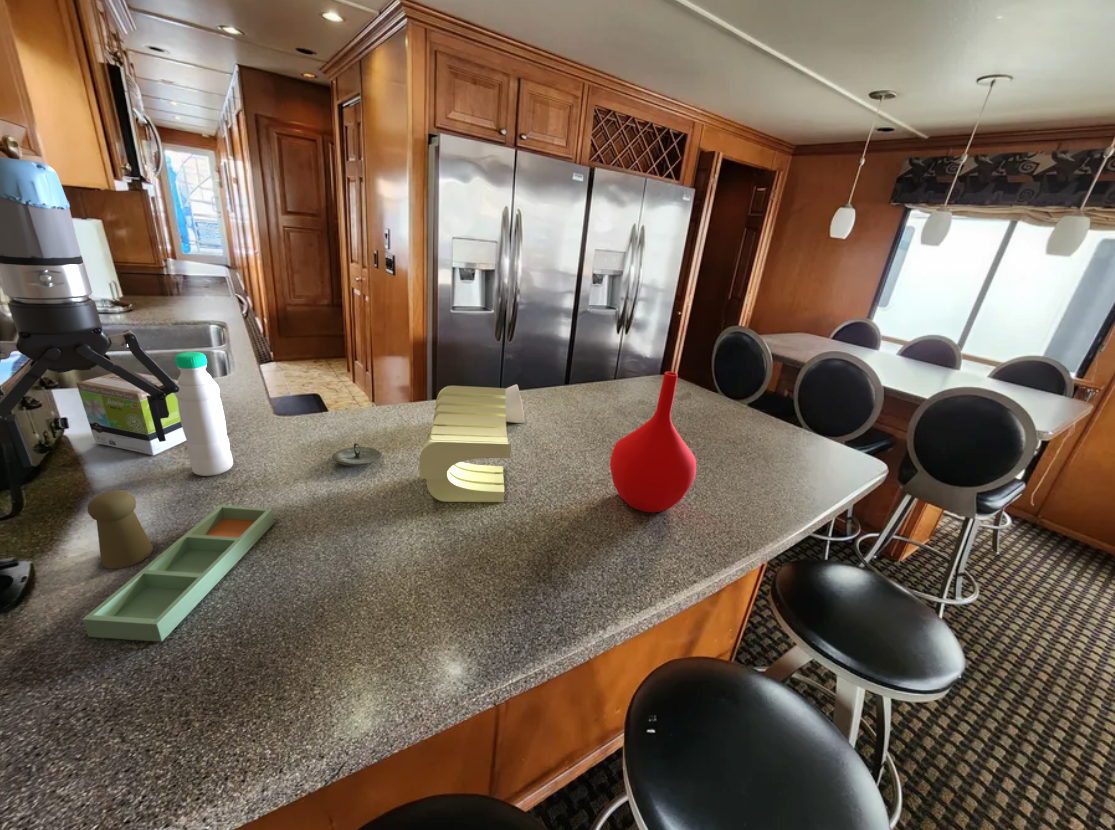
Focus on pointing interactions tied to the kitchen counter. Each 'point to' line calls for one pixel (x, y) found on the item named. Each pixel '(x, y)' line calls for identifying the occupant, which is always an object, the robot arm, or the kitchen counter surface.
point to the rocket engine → (514, 405)
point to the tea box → (128, 415)
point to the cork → (119, 529)
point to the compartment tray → (179, 576)
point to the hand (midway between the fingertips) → (99, 450)
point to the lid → (357, 456)
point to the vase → (654, 459)
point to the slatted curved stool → (466, 445)
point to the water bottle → (202, 416)
